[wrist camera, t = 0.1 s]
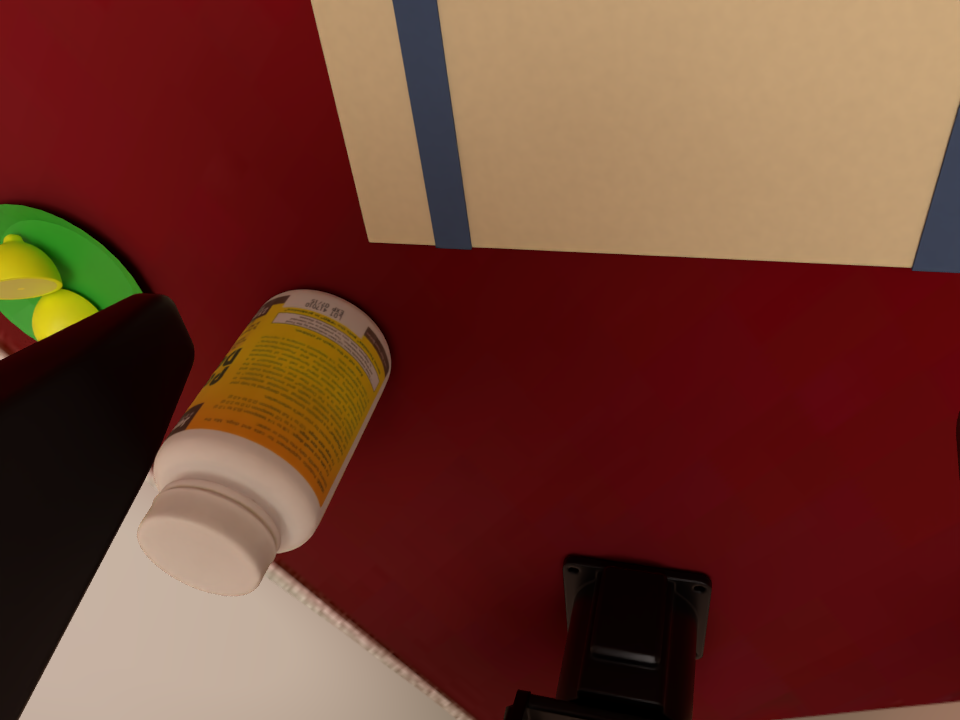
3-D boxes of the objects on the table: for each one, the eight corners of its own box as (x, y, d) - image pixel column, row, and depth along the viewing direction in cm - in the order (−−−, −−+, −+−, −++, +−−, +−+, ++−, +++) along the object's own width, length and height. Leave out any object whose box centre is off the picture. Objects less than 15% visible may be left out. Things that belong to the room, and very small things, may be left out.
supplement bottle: (270, 258, 29) (107, 473, 22) (411, 318, 29) (297, 550, 22) (253, 358, 33) (111, 568, 26) (378, 410, 33) (272, 633, 26)
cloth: (1053, 263, 22) (1060, 278, 22) (374, 233, 27) (366, 244, 27) (1236, -167, 16) (1253, -160, 15) (296, -99, 21) (285, -92, 20)
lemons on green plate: (-60, 238, 33) (-113, 278, 31) (45, 163, 29) (-9, 204, 27) (87, 374, 37) (49, 418, 35) (199, 326, 33) (162, 373, 31)
